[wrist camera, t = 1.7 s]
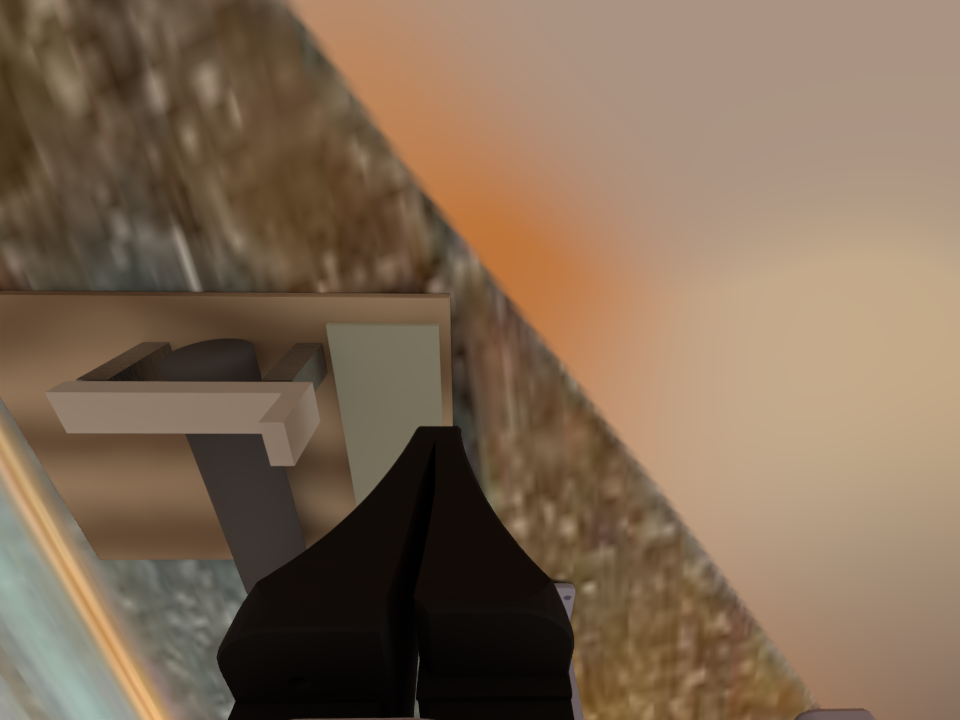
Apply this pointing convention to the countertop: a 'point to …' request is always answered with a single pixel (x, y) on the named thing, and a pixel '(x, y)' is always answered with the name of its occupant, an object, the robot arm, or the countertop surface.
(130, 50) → the countertop surface
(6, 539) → the countertop surface
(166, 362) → the dark grey rod
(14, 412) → the board
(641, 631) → the countertop surface
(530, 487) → the countertop surface
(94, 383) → the beige l-shaped block
